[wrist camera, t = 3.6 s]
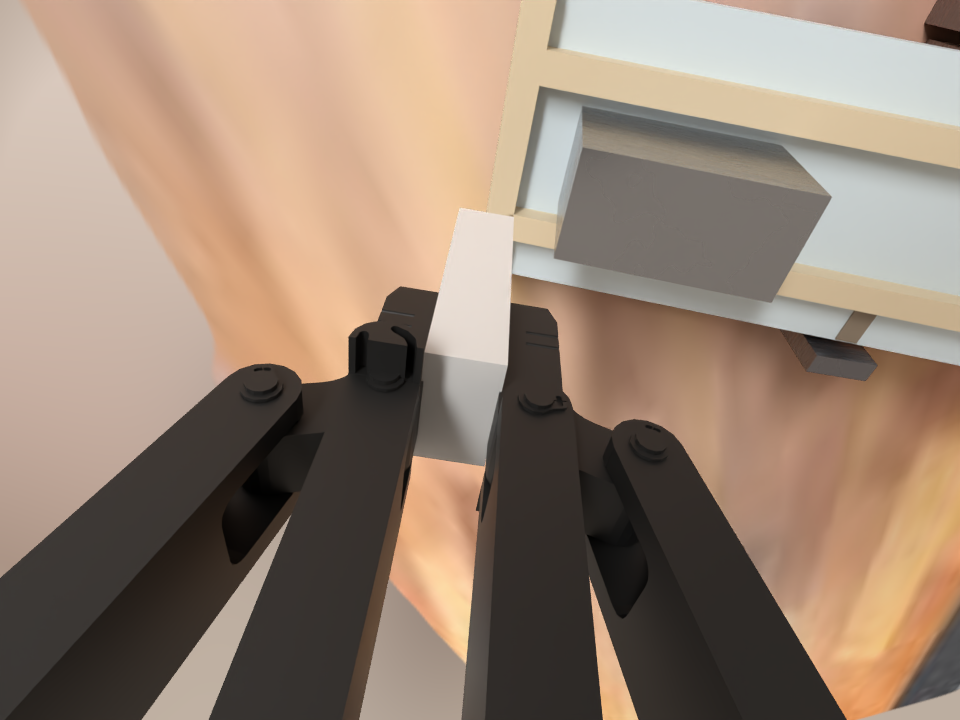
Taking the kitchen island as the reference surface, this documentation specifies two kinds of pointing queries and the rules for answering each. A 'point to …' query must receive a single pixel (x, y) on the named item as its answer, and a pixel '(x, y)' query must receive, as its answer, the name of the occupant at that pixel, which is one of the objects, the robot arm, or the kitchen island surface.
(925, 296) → the beam
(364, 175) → the kitchen island surface
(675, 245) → the block
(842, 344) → the fulcrum
